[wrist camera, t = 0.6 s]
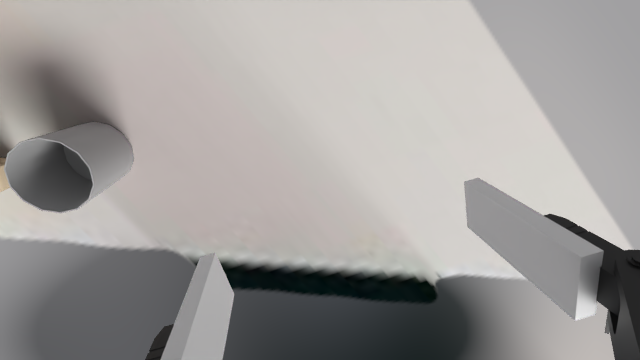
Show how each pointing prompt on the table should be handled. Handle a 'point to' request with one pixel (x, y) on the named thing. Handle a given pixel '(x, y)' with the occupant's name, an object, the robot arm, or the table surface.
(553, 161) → the table surface
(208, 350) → the robot arm
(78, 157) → the cup
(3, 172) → the notched wooden slab
